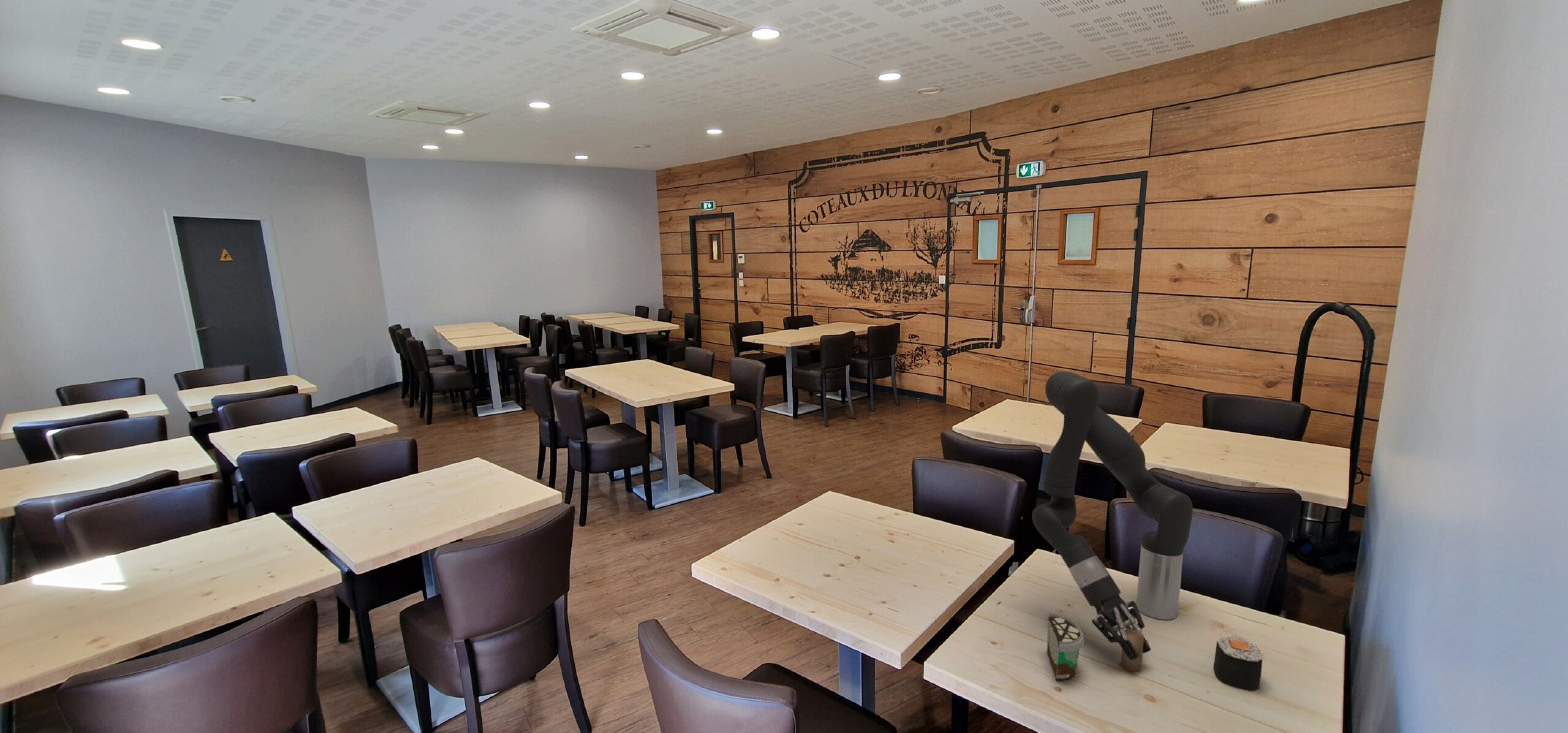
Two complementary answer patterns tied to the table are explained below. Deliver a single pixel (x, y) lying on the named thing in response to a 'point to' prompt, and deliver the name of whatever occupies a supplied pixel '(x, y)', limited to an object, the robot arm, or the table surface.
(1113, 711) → the table surface
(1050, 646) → the food container
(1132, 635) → the walnut cylinder
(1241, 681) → the sushi
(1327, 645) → the table surface
